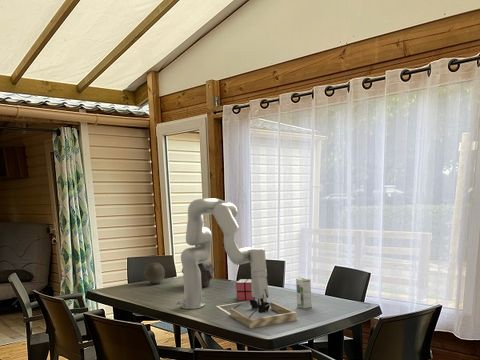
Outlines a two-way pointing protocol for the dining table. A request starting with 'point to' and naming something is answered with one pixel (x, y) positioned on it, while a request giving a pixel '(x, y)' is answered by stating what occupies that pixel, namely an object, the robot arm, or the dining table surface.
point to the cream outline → (229, 304)
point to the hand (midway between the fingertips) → (262, 312)
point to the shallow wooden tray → (284, 316)
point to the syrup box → (303, 292)
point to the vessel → (205, 272)
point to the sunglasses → (256, 305)
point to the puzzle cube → (244, 290)
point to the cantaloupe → (154, 272)
